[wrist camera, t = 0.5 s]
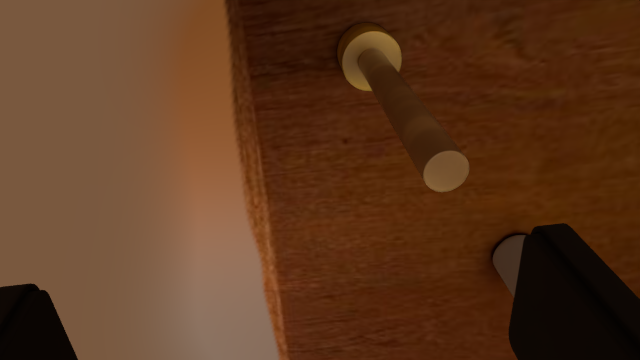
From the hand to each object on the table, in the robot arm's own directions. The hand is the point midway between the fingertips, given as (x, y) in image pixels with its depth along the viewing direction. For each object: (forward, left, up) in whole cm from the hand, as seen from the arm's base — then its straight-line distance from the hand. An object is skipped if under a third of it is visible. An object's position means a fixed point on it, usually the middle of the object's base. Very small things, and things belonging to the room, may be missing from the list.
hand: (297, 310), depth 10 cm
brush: (0, +7, -30) cm, 31 cm away
